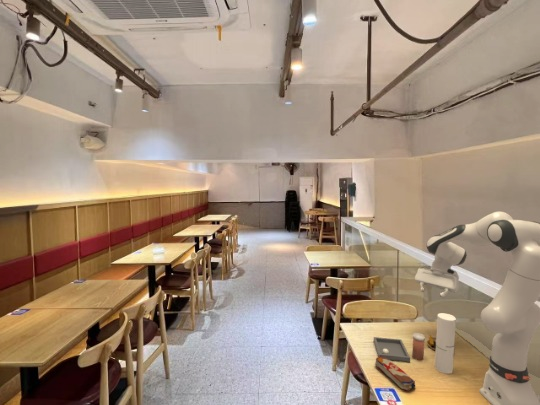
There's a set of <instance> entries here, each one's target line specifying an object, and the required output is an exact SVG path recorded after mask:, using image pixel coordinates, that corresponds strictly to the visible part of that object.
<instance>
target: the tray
mask: <svg viewBox="0 0 540 405" xmlns="http://www.w3.org/2000/svg"><path fill="white" fill-rule="evenodd" d="M373 344H374V347H375V350H376V353H377V356H378V357H384V358H388V359H389V360H391V361H392V362H399V363H409V364H410V363H411V356H410V354H409V352H408V350H407V348H406V346H405V344H404V343H403V340H402V339H399V338H390V337H389V338H387V337H379V336H378V337H377V336H374V337H373ZM383 349H387V350H388V351H389V354H383V353H382V350H383Z"/></svg>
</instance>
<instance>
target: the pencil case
mask: <svg viewBox="0 0 540 405" xmlns="http://www.w3.org/2000/svg"><path fill="white" fill-rule="evenodd" d="M375 366H376V367H377V368H378V369H379V370H380V371H382V372H383V373H384V374H385V375H386V376H387V377H389V378H390V379H391V380H392V382H393V383H395V384H396V385H397V386H398V387H399V388H400V389H402V390H404V391H407V392H409V391H412V390H413V389H415V388H416V382H415V380H414V379H413V378H411V377H410V375H408V374H407V372H405V371H404V370H403V369H402V368H400V367H399V366H398V365H397V364H395V363H394V361H391V360H389V359H388V358H384V357H376V358H375Z"/></svg>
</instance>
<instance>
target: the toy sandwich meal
mask: <svg viewBox="0 0 540 405" xmlns="http://www.w3.org/2000/svg"><path fill="white" fill-rule="evenodd" d="M426 344H427V346H428V347H429V348H430V349H431V350H433V351H435V352H436V337H432V335H431V334H429V338H428V340H427V341H426Z"/></svg>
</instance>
